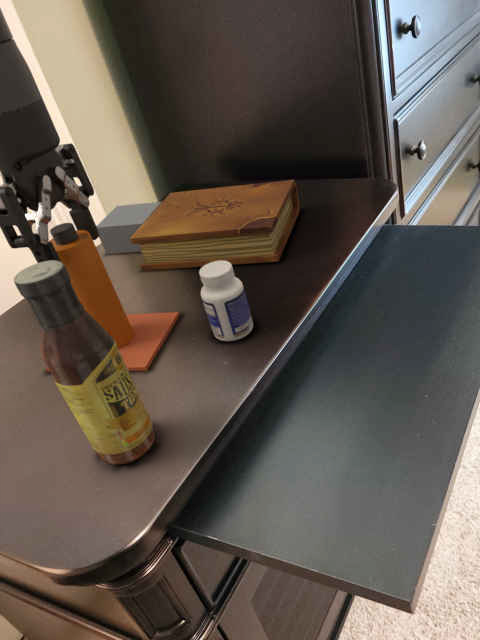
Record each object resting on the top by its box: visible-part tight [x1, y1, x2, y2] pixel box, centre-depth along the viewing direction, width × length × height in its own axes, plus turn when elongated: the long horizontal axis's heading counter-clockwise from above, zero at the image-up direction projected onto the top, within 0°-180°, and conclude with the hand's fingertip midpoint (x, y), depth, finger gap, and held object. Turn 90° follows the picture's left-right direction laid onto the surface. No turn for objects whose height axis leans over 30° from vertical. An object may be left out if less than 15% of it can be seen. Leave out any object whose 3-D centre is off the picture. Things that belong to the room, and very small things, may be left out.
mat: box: [45, 311, 180, 373], centre depth 69 cm, size 14×12×1 cm
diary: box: [130, 179, 301, 272], centre depth 87 cm, size 23×19×6 cm
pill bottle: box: [198, 261, 254, 342], centre depth 64 cm, size 5×5×9 cm
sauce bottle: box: [13, 260, 156, 466], centre depth 48 cm, size 7×6×20 cm
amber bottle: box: [49, 222, 134, 348], centre depth 64 cm, size 5×5×16 cm
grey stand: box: [96, 201, 163, 255], centre depth 92 cm, size 9×9×5 cm
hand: (74, 256), depth 61 cm, fingers open, 8 cm apart
